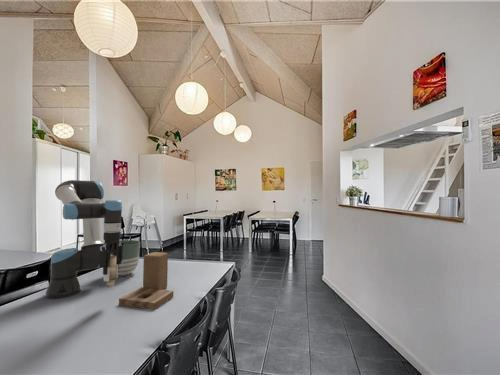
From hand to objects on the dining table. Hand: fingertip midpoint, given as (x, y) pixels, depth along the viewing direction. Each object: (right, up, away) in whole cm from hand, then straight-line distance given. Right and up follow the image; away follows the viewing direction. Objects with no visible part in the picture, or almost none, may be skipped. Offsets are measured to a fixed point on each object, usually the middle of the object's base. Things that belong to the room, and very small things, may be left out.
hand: (110, 279), depth 124 cm
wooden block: (+14, -13, +20) cm, 28 cm away
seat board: (+16, -12, +4) cm, 21 cm away
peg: (0, -3, 0) cm, 3 cm away
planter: (-18, -14, +47) cm, 53 cm away
